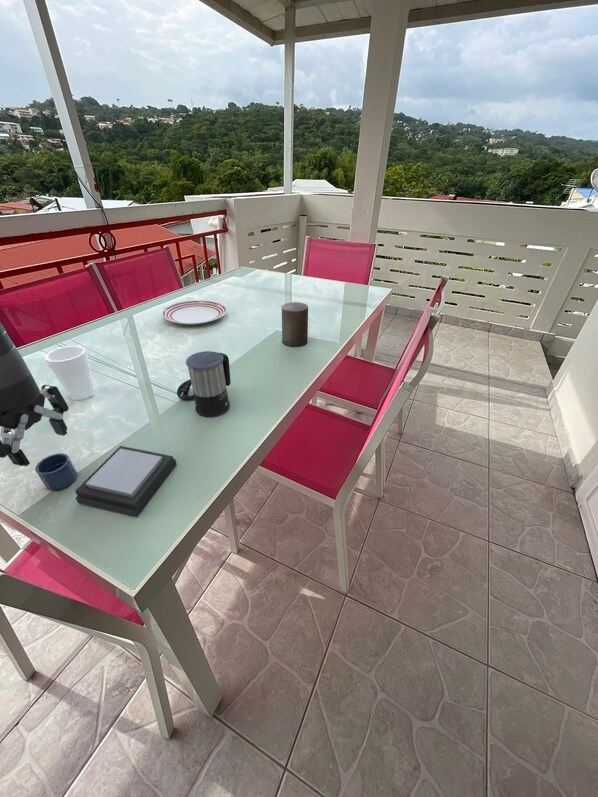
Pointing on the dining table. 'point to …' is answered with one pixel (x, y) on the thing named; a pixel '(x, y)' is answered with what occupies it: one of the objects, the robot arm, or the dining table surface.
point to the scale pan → (125, 473)
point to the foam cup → (72, 371)
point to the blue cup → (56, 471)
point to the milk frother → (207, 383)
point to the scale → (120, 502)
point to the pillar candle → (294, 324)
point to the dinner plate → (194, 312)
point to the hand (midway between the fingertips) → (44, 448)
